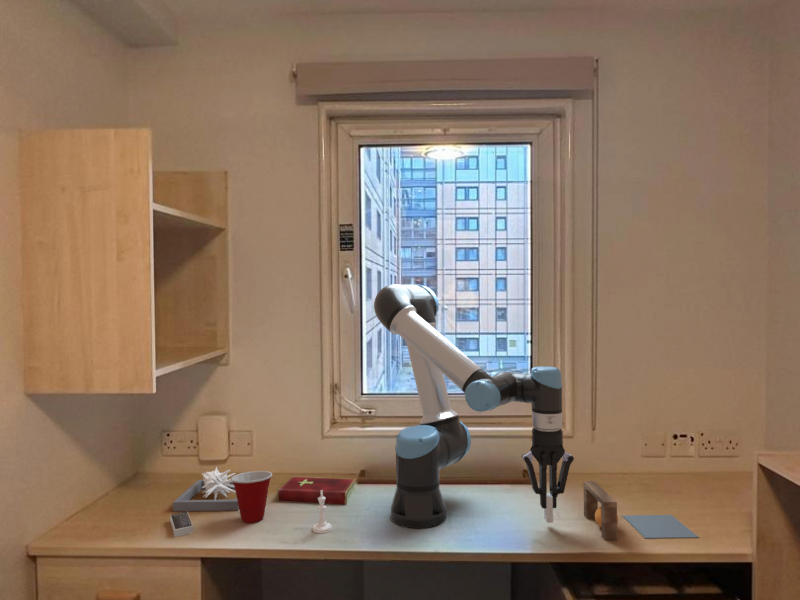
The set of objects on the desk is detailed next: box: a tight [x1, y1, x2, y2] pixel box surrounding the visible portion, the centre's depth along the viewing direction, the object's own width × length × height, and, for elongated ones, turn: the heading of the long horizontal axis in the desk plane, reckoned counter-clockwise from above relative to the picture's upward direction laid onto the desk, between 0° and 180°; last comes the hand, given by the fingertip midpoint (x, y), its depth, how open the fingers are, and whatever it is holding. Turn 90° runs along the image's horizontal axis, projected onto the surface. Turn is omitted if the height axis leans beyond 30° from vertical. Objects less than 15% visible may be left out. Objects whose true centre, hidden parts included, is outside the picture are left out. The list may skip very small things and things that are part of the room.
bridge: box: [583, 480, 618, 541], centre depth 133 cm, size 3×14×9 cm, turn 0°
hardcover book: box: [276, 475, 357, 505], centre depth 158 cm, size 12×21×4 cm, turn 81°
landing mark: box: [622, 514, 700, 539], centre depth 133 cm, size 13×13×1 cm
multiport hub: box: [169, 511, 194, 538], centre depth 137 cm, size 4×11×2 cm, turn 29°
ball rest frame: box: [172, 478, 240, 512], centre depth 156 cm, size 18×18×2 cm
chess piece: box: [312, 490, 333, 534], centre depth 134 cm, size 5×5×10 cm
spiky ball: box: [201, 466, 237, 500], centre depth 158 cm, size 11×12×8 cm
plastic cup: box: [230, 470, 273, 524], centre depth 141 cm, size 11×11×12 cm
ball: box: [595, 506, 619, 528], centre depth 132 cm, size 6×6×6 cm
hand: (548, 520), depth 133 cm, fingers closed
